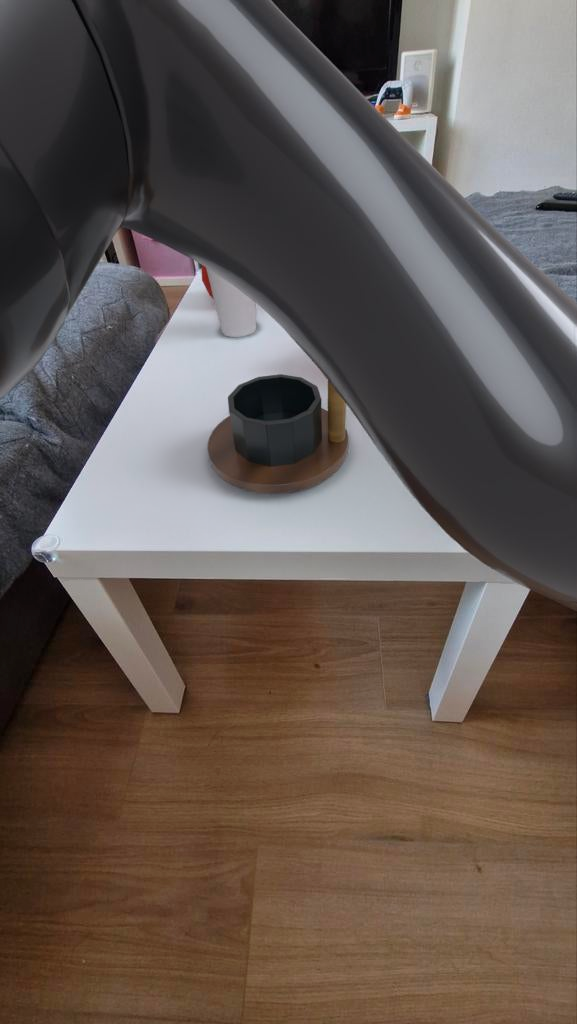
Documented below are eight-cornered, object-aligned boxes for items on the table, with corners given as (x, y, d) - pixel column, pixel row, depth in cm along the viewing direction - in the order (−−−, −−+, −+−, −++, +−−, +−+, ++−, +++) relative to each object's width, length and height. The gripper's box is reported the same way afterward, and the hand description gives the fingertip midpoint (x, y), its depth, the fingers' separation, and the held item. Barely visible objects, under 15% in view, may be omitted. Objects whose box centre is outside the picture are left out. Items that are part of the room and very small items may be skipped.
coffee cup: (204, 337, 90) (188, 248, 80) (227, 316, 96) (215, 231, 86) (251, 343, 87) (240, 252, 77) (272, 321, 94) (265, 234, 83)
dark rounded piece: (183, 475, 61) (151, 359, 50) (246, 400, 73) (232, 294, 62) (319, 508, 55) (317, 386, 45) (365, 421, 67) (371, 308, 56)
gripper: (640, 320, 28) (464, 242, 40) (438, 371, 26) (313, 271, 37) (592, 429, 33) (449, 331, 45) (420, 481, 31) (316, 362, 43)
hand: (387, 304), depth 41 cm, fingers closed
